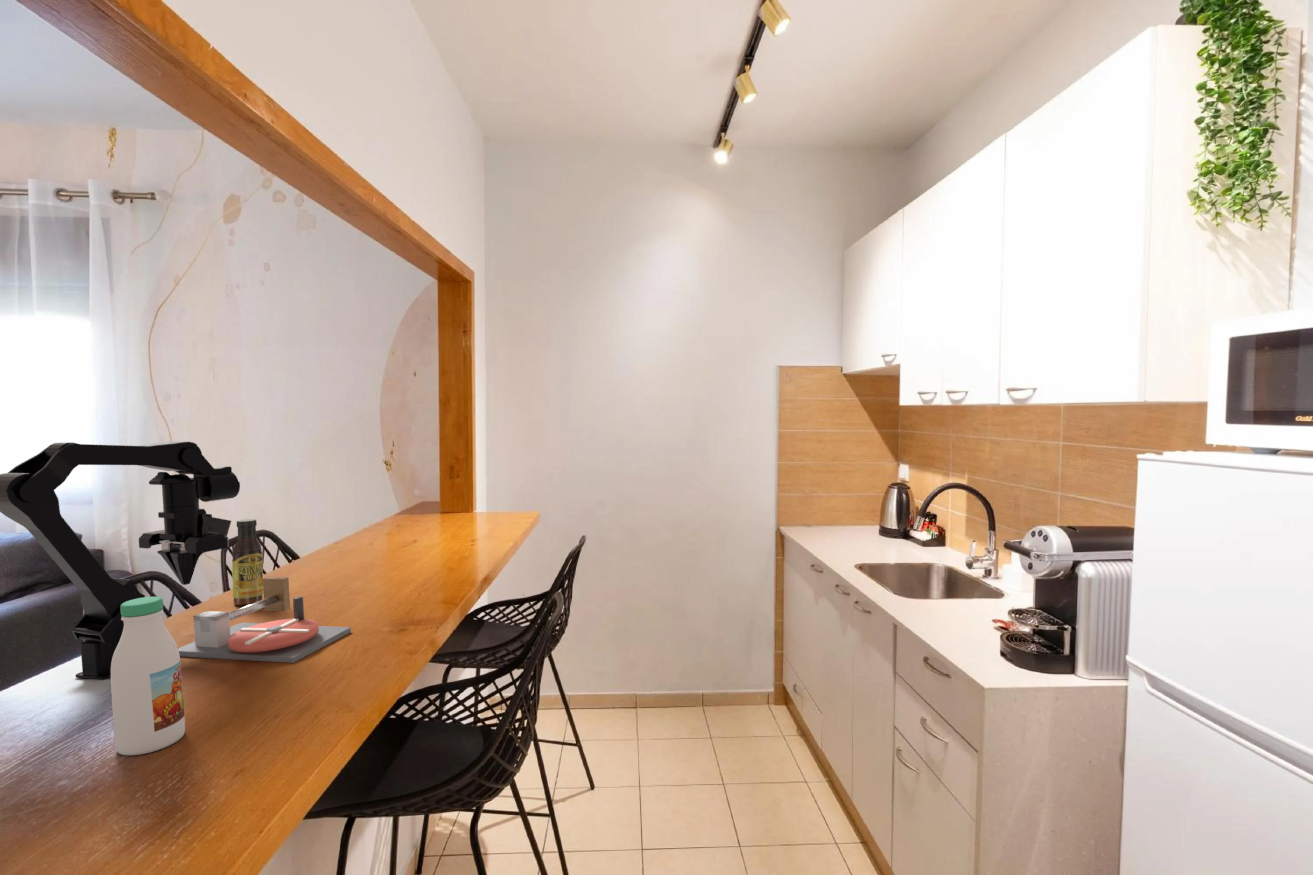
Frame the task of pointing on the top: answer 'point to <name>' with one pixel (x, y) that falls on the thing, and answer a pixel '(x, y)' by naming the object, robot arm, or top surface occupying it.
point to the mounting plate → (214, 644)
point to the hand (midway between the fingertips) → (185, 584)
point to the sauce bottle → (247, 565)
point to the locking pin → (268, 598)
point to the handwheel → (275, 632)
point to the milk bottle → (146, 681)
